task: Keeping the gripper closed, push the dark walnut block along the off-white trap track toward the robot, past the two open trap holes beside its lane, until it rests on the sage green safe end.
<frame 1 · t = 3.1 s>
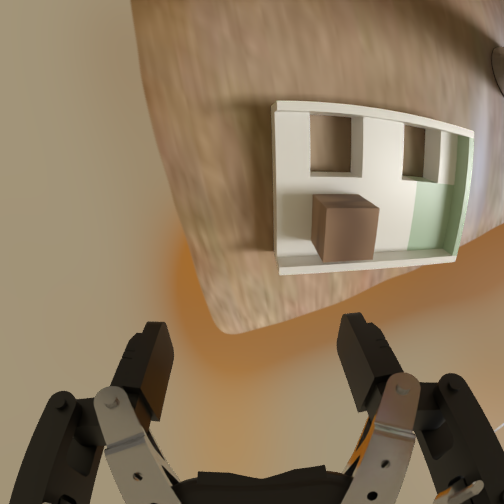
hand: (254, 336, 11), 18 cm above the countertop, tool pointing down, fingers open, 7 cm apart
trap track: (371, 182, 26), on the countertop
walnut block: (334, 217, 25), point 3 cm above the countertop, touching trap track
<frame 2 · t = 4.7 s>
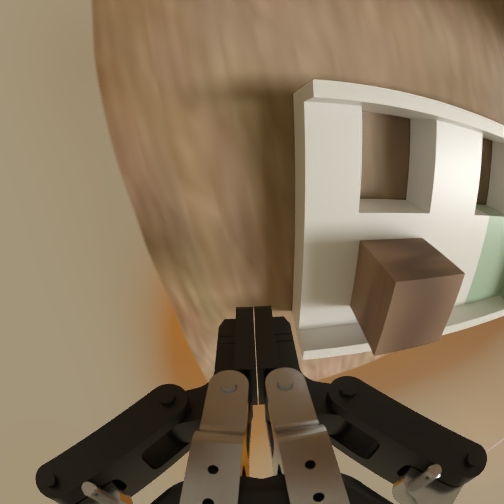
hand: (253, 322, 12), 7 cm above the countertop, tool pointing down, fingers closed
trap track: (430, 213, 17), on the countertop
walnut block: (387, 272, 15), point 3 cm above the countertop, touching trap track
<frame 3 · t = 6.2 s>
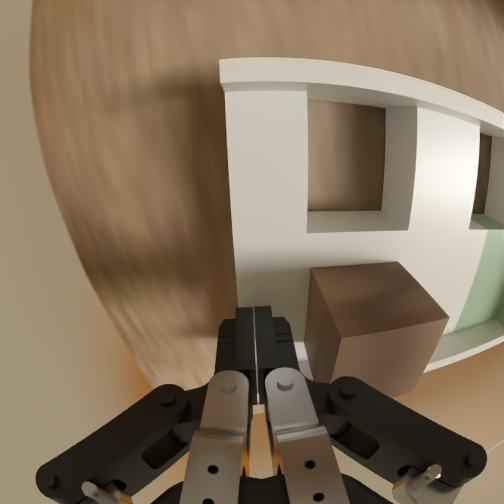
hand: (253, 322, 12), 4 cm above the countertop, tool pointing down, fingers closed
trap track: (413, 227, 14), on the countertop
walnut block: (350, 304, 13), point 3 cm above the countertop, touching gripper, trap track
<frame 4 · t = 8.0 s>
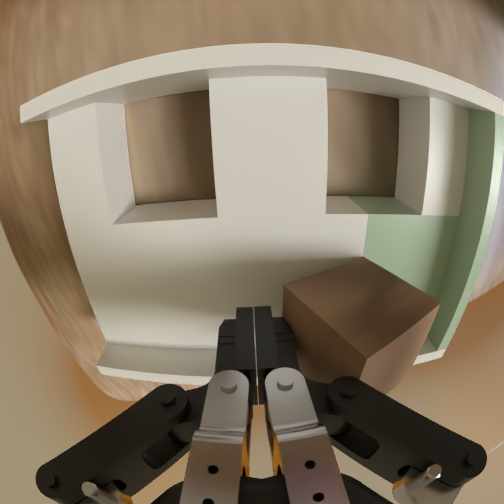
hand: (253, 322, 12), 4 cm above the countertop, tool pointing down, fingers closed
trap track: (273, 214, 14), on the countertop
walnut block: (322, 311, 12), point 4 cm above the countertop, tilted 27°, touching gripper, hand, trap track
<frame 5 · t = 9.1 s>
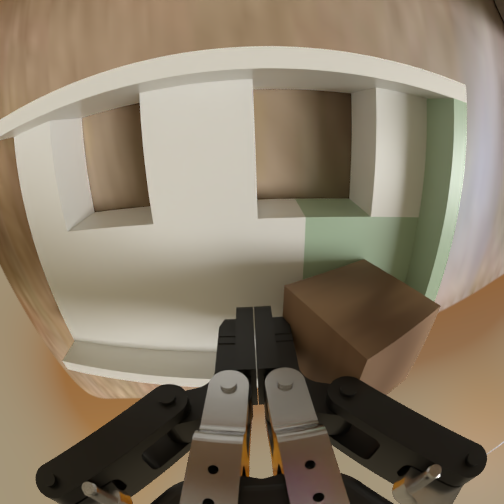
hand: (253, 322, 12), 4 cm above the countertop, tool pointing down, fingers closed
trap track: (219, 219, 14), on the countertop
walnut block: (322, 312, 12), point 4 cm above the countertop, tilted 26°, touching gripper, hand, trap track
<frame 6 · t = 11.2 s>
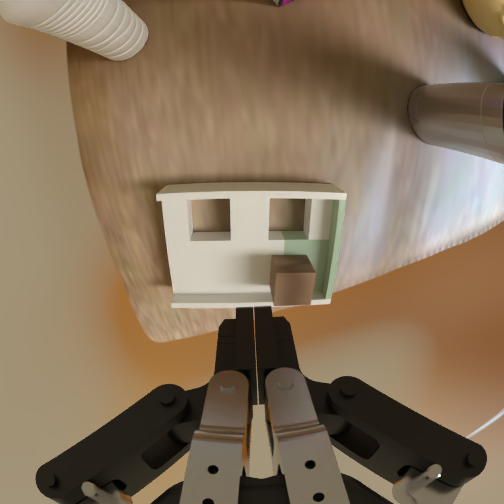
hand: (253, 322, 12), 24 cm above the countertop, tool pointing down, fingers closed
water bottle: (133, 35, 23), on the countertop
trap track: (250, 238, 36), on the countertop
sculpture: (475, 14, 19), on the countertop
walnut block: (287, 270, 35), point 3 cm above the countertop, touching trap track
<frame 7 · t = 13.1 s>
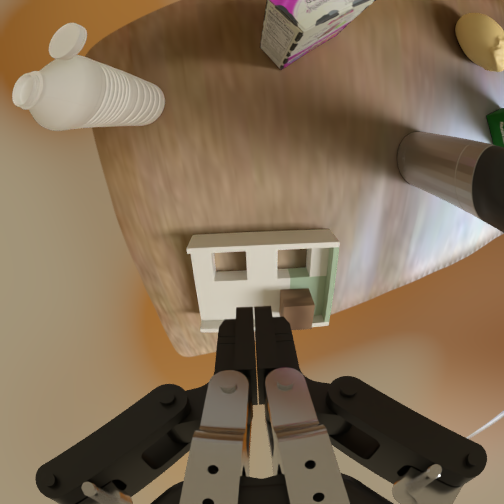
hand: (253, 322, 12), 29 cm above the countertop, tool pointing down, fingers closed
water bottle: (150, 99, 32), on the countertop
trap track: (262, 275, 44), on the countertop
milk carton: (497, 127, 32), on the countertop
sculpture: (468, 44, 25), on the countertop
candy bar box: (298, 39, 29), on the countertop
walnut block: (293, 300, 43), point 3 cm above the countertop, touching trap track
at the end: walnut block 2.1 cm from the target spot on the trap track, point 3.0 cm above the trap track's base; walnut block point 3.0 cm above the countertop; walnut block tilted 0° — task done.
